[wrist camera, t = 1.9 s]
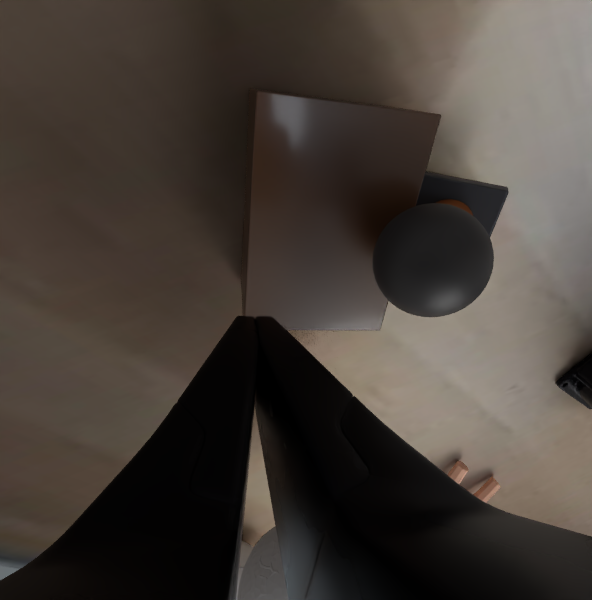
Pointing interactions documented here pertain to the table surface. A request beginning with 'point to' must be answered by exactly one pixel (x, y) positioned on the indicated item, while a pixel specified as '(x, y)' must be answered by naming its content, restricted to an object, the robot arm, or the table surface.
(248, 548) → the white oval body
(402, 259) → the ball-topped stamp
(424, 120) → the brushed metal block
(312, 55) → the table surface
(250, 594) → the lollipop
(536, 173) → the table surface
